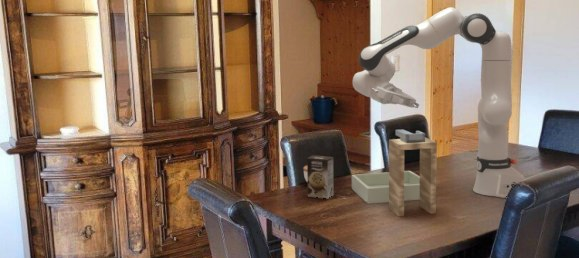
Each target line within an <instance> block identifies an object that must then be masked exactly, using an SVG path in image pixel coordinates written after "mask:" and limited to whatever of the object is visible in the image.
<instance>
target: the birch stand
mask: <svg viewBox="0 0 579 258" xmlns="http://www.w3.org/2000/svg"><path fill="white" fill-rule="evenodd" d="M437 145H438V142H437V141H435V140H432V139H430V138H428V137H426V136H425V142H415V143H405V142H403V141H401V140H400V138H397V139H396V138H392V139H389V140H388V172H389V202H388V208H389V209H390V211H392V212H393V214H395V215H396V216H397V217H404V216H405V201H404V171H405V151H407V150H409V151H410V150H419V176H420V195H419V200H418V201H419V207H421V208H422V210H425V212H427V213H429V214H436V211H437V159H438V158H437V154H438V153H437V151H438V149H437V148H438V146H437Z"/></svg>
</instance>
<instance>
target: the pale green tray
mask: <svg viewBox="0 0 579 258" xmlns="http://www.w3.org/2000/svg"><path fill="white" fill-rule="evenodd" d="M351 190H352V191H354V192H355V194H356V195H357V196H359V197H360V198H361V199H362V200H363V201H364V202H365V203H366V204H367V205H369V204H380V203H381V204H382V203H383V204H384V203H389V171H388V172H387V171H386V172H385V171H384V172H374V173H373V172H372V173H360V174H359V173H358V174H351ZM419 195H420V175H418V174H416V173H415V172H413V171H411V170H404V202H407V201H419Z"/></svg>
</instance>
